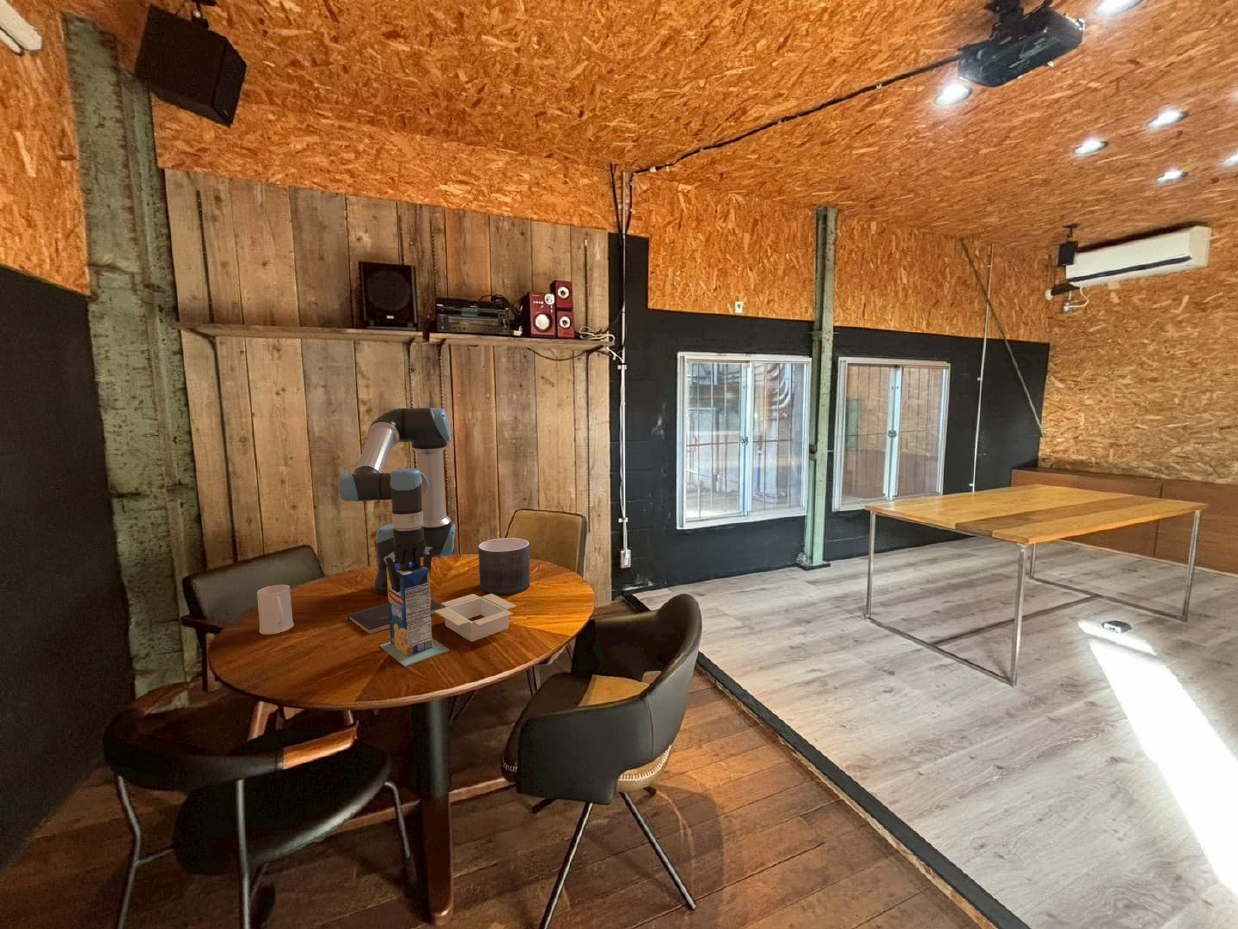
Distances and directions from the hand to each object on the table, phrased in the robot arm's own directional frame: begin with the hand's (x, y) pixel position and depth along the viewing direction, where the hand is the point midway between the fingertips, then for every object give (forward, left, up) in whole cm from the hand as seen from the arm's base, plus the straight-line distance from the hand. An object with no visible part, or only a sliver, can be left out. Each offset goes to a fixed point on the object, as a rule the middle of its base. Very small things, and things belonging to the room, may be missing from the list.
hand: (412, 613), depth 138 cm
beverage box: (-2, 0, -10) cm, 10 cm away
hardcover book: (-26, +6, -11) cm, 29 cm away
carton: (0, +19, -10) cm, 22 cm away
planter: (-23, +44, -10) cm, 51 cm away
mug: (-40, -23, -10) cm, 47 cm away
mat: (0, 0, -10) cm, 10 cm away
